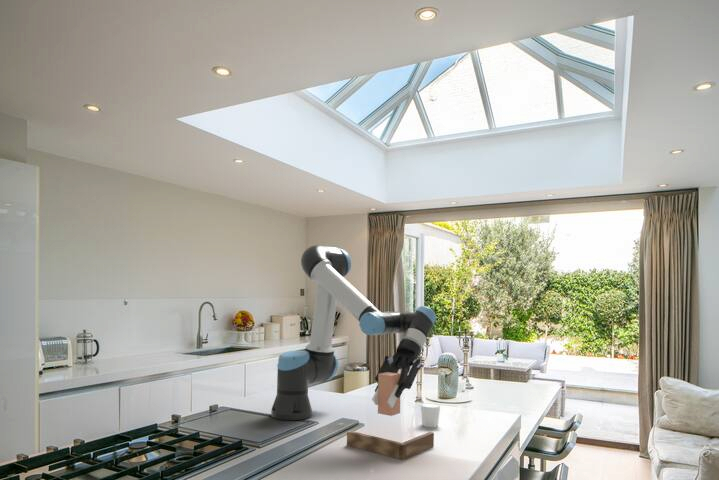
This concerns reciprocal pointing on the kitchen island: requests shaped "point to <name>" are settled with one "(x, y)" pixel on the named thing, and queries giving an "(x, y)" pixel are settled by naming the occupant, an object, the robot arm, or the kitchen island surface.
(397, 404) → the block
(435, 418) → the white cup
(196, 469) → the kitchen island surface
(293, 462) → the kitchen island surface
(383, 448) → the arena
